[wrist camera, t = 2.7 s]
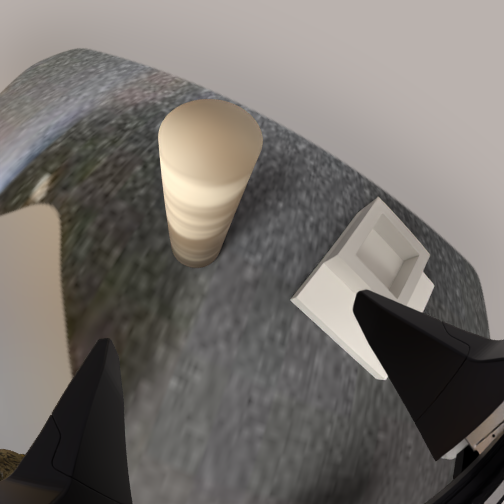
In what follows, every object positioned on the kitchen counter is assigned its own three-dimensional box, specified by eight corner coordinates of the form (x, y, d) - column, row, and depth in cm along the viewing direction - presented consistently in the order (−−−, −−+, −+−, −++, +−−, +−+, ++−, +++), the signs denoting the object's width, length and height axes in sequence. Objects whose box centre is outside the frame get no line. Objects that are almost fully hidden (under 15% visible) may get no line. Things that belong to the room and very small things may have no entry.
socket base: (376, 378, 24) (402, 382, 20) (289, 299, 24) (308, 292, 20) (425, 288, 28) (450, 280, 24) (357, 213, 28) (378, 196, 25)
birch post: (196, 278, 23) (210, 198, 10) (160, 243, 23) (137, 132, 10) (231, 243, 24) (282, 139, 11) (196, 211, 24) (212, 87, 11)
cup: (-7, 444, 13) (-50, 464, 5) (29, 424, 15) (-18, 447, 8) (37, 503, 12) (7, 537, 4) (79, 489, 14) (50, 531, 7)
